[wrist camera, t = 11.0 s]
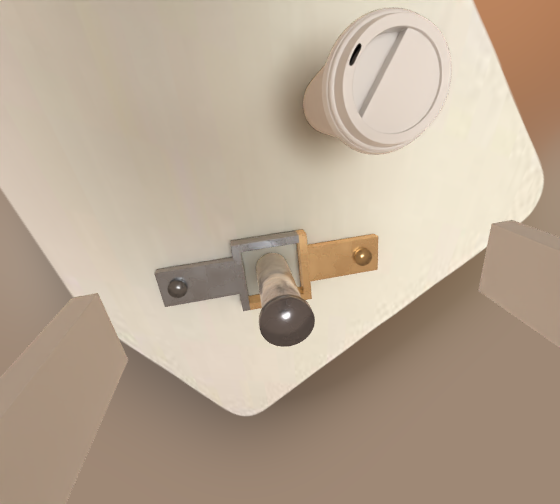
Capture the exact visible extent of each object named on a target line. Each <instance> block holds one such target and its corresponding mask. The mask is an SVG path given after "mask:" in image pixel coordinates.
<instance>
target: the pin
mask: <svg viewBox="0 0 560 504" xmlns="http://www.w3.org/2000/svg"><path fill="white" fill-rule="evenodd" d="M256 274H257V280H258V286H259V293H260V299H261V305H262V310H261V312H260V315H259V325H260V331H261V334H262V336H263V337H264V338H265V339H266V340H267V341H268V342H269V343H271V344H273V345H276V346H292V345H295V344H298V343H300V342H301V341H303V340H304V339H306V338H307V337H308V336H309V334H310V333H311V331H312V330H313V327H314V322H315V319H314V314H313V312H312V309H311V307H310V305H309V304H308V302H307V301H306V300H304V299H303V298H301V296H300V293H299V291H298V288H297V286H296V283H295V281H294V279H293V276H292V274H291V271H290V269H289V266H288V264H287V261H286V259H285V258H284V257H283V256H282V255H280V254H278V253H267V254H265V255H263V256H262V257H261V258H260V259H259V260H258V261H257V264H256Z"/></svg>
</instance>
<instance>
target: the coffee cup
mask: <svg viewBox="0 0 560 504" xmlns="http://www.w3.org/2000/svg"><path fill="white" fill-rule="evenodd" d="M451 72H452V66H451V56H450V52H449V48H448V45H447V42H446V40H445V38H444V36H443V34H442V33H441V31H440V30H439V29H438V28H437V26H436V25H435V24H434V23H432V22H431V21H430V20H429V19H427V18H425V17H423V16H421V15H419V14H417V13H415V12H413V11H410V10H407V9H403V8H384V9H378V10H375V11H372V12H369V13H367V14H365V15H363V16H361V17H359V18H358V19H356V20H355V21H354V22H353V23H351V24H350V25H349V26H348V27H347V28H346V29H345V30H344V31H343V32H342V34H341V35H340V36H339V38H338V39H337V40H336V42H335V44H334V45H333V47H332V49H331V51H330V53H329V56H328V58H327V61H326V64H325V65H324V66H323V67H322V69H321V70H320V71H319V72H318V73H317V75H316V76H315V77H314V78H313V79H312V81H311V82H310V83H309V85H308V86H307V88H306V91H305V94H304V98H303V110H304V114H305V117H306V119H307V121H308V123H309V124H310V125H311V126H312V127H313V128H314V129H315V130H317V131H319V132H321V133H324V134H327V135H330V136H333V137H336V138H339V139H340V140H341V141H342V142H343V143H344V144H346V145H347V146H349V147H350V148H352V149H354V150H356V151H358V152H361V153H365V154H373V155H378V154H386V153H390V152H393V151H396V150H398V149H400V148H402V147H404V146H406V145H408V144H409V143H411V142H412V141H414V140H415V139H416V138H417V137H419V136H420V135H421V134H422V133H423V132H424V131H425V130H426V129H427V127H428V126H429V125H430V124H431V123H432V122H433V121H434V120H435V118H436V117H437V115H438V114H439V112H440V111H441V109H442V107H443V105H444V103H445V100H446V98H447V95H448V91H449V87H450V82H451Z"/></svg>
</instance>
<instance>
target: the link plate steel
mask: <svg viewBox="0 0 560 504" xmlns="http://www.w3.org/2000/svg"><path fill="white" fill-rule="evenodd" d="M294 243H299V235H298V234H297V232H296V231H289V232H283V233H276V234H270V235H264V236H257V237H251V238H245V239H238V240H232V241H231V250H232V256H233V257H230V258H224V259H217V260H211V261H205V262H199V263H193V264H187V265H181V266H175V267H169V268H162V269H157V270H156V272H155V276H156V280H157V283H158V286H159V289H160V292H161V296H162V299H163V302H164V305H165V307H168V306H173V305H179V304H185V303H190V302H196V301H202V300H207V299H213V298H219V297H224V296H230V295H236V294H240V297H241V302H242V308H243V311H247V310H250V304H249V296H248V290H247V285H246V279H245V273H244V268H243V262H242V257H241V252H245V251H251V250H257V249H263V248H269V247H275V246H282V245H288V244H294Z"/></svg>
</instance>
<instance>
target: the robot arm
mask: <svg viewBox="0 0 560 504" xmlns="http://www.w3.org/2000/svg"><path fill="white" fill-rule="evenodd" d="M479 292H480V293H482V294H483V295H485V296H486V297H488V298H489V299H491V300H492V301H493V302H495V303H496V304H498V305H499V306H501V307H502V308H503V309H505V310H506V311H508V312H509V313H511V314H512V315H514V316H515V317H516V318H518V319H519V320H521V321H522V322H524V323H525V324H526V325H528V326H529V327H531V328H532V329H534V330H535V331H536V332H538V333H539V334H541V335H543V336H544V337H545V338H547V339H548V340H549V341H551V342H552V343H554V344H555V345H557V346H558V347H559V348H560V237H558V236H555V235H552V234H549V233H547V232H544V231H541V230H538V229H535V228H533V227H530V226H527V225H524V224H522V223H519V222H516V221H513V220H510V221H504V222H498V223H493V224H492V225H491V230H490V235H489V240H488V245H487V250H486V255H485V260H484V265H483V270H482V275H481V281H480V285H479ZM127 361H128V358H127V356H126V354H125V352H124V350H123V347H122V345H121V343H120V341H119V338H118V336H117V334H116V332H115V330H114V328H113V325H112V323H111V321H110V319H109V317H108V314H107V312H106V310H105V308H104V306H103V304H102V301H101V299H100V297H99V295H98V293H96V294H90V295H85V296H79V297H73V298H71V299H70V300H69V302H68V303H67V304H66V305H65V306H64V307H63V308H62V309H61V310H60V311H59V313H58V314H57V315H56V316H55V317H54V318H53V319H52V320H51V322H50V323H49V324H48V325H47V326H46V327H45V328H44V329H43V330H42V331H41V333H40V334H39V335H38V336H37V337H36V338H35V339H34V341H33V342H32V343H31V344H30V345H29V346H28V347H27V348H26V349H25V350H24V351H23V353H22V354H21V355H20V356H19V357H18V358H17V359H16V360H15V362H14V363H13V364H12V365H11V366H10V367H9V368H8V369H7V371H5V373H4V374H3V375H2V376H1V377H0V504H66V502H67V500H68V498H69V495H70V493H71V491H72V488H73V486H74V484H75V481H76V479H77V476H78V475H79V472H80V470H81V468H82V465H83V463H84V461H85V458H86V456H87V454H88V451H89V449H90V447H91V445H92V442H93V440H94V438H95V435H96V433H97V430H98V428H99V426H100V424H101V421H102V419H103V417H104V415H105V412H106V410H107V407H108V405H109V403H110V401H111V398H112V396H113V394H114V392H115V389H116V387H117V384H118V382H119V380H120V377H121V375H122V373H123V371H124V368H125V366H126V364H127Z"/></svg>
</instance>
